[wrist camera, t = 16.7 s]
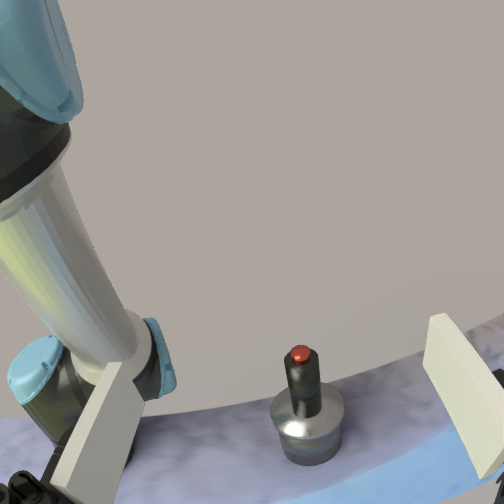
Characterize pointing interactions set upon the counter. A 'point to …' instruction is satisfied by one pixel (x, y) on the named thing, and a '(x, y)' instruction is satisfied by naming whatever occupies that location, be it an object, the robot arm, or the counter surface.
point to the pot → (311, 449)
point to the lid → (306, 400)
